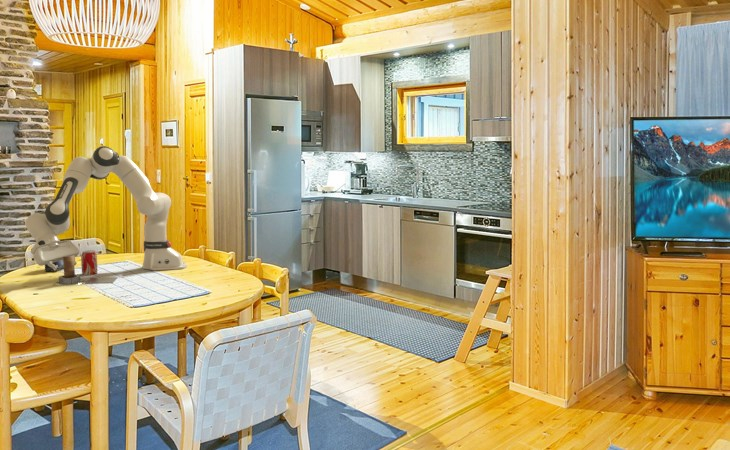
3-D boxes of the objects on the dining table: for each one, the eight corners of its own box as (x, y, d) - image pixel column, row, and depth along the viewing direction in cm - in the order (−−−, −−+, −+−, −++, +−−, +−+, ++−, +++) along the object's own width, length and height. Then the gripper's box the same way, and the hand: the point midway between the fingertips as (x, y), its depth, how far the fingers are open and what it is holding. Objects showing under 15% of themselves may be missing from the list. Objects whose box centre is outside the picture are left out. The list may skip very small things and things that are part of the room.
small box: (57, 271, 316) (56, 251, 315) (44, 271, 316) (43, 251, 315) (67, 268, 327) (66, 248, 326) (55, 267, 327) (54, 247, 326)
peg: (76, 281, 289) (75, 255, 288) (73, 283, 285) (72, 257, 284) (65, 281, 288) (64, 256, 287) (63, 283, 284) (62, 257, 283)
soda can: (91, 277, 304) (90, 252, 302) (78, 276, 305) (77, 252, 304) (100, 274, 311) (99, 250, 309) (87, 273, 312) (86, 249, 311)
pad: (117, 279, 299) (117, 277, 299) (112, 285, 288) (112, 282, 287) (90, 280, 297) (90, 277, 297) (84, 285, 285) (84, 283, 285)
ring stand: (87, 281, 294) (86, 273, 293) (80, 287, 282) (80, 278, 282) (59, 282, 291) (58, 274, 291) (51, 288, 280) (51, 279, 279)
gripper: (66, 243, 302) (82, 265, 299) (26, 252, 284) (43, 276, 282) (72, 235, 299) (88, 257, 297) (32, 244, 281) (49, 268, 279)
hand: (65, 267), depth 289 cm, fingers open, 8 cm apart
